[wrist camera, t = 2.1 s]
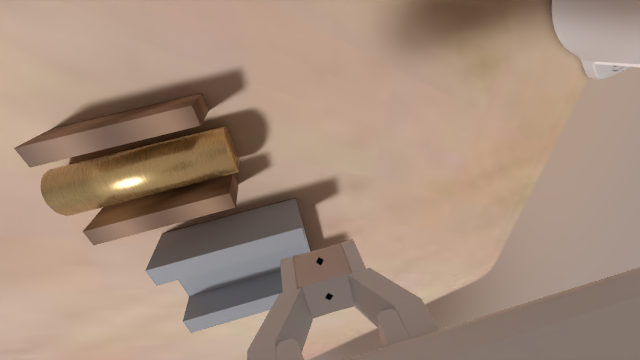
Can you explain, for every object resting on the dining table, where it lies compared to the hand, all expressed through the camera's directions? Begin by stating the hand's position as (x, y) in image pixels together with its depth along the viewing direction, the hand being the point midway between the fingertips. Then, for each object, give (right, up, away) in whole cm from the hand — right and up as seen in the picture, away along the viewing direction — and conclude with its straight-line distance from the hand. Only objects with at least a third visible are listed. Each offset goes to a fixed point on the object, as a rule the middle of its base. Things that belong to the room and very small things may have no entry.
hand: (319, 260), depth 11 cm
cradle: (-8, -4, +20) cm, 22 cm away
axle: (-14, +4, +12) cm, 19 cm away
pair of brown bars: (-15, +5, +14) cm, 21 cm away
